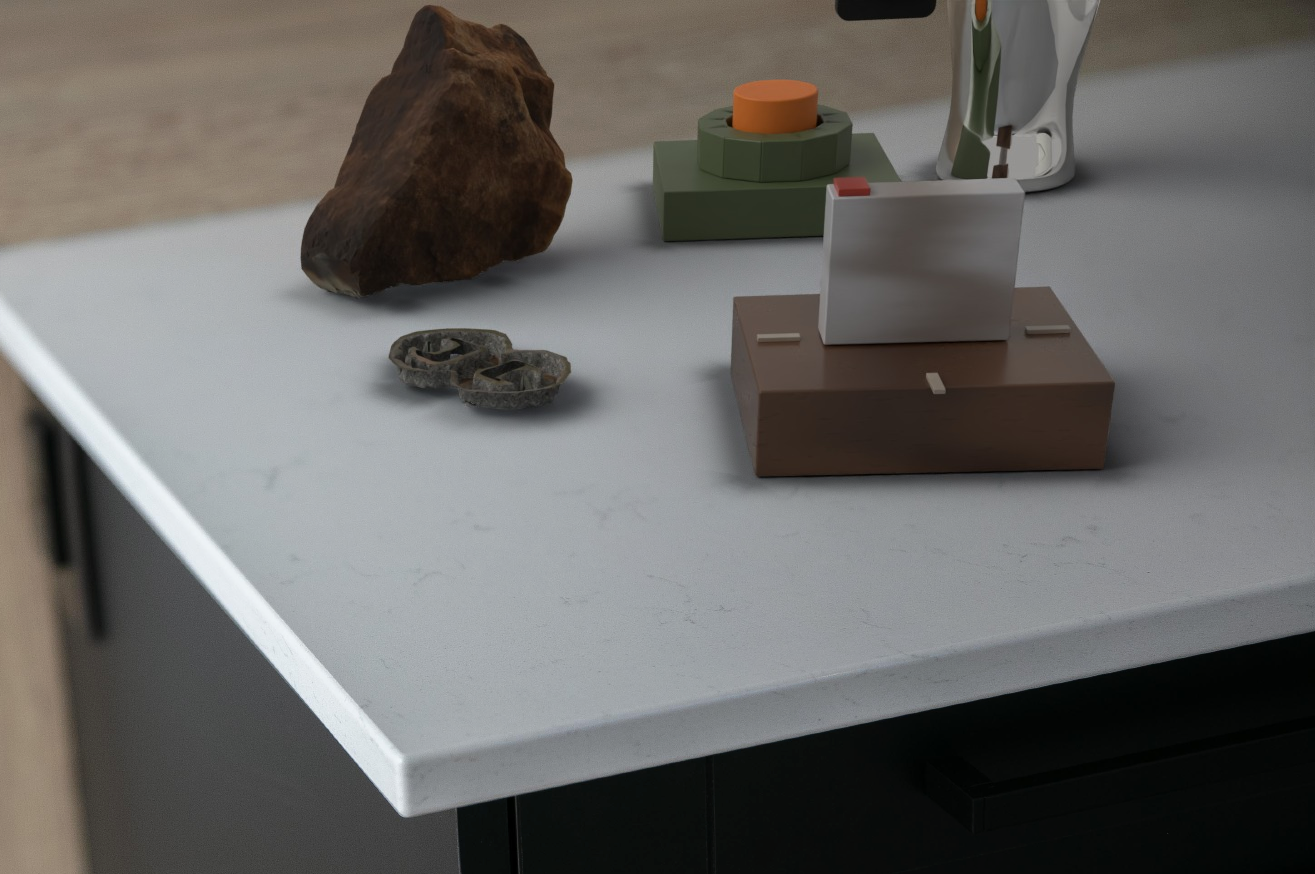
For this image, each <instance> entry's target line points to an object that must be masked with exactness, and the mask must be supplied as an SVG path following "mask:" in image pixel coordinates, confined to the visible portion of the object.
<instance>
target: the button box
mask: <svg viewBox="0 0 1315 874" xmlns="http://www.w3.org/2000/svg"><path fill="white" fill-rule="evenodd" d="M732 126H733V105H730V106H725V107H720V108H717V109H716V108H715V109H713V110H712V111H710V112H708V113H706V114H705V115H703V116H701V117H699V118H698V119H697V134H696V135H697V138H696V139H687V140H686V139H685V140H684V139H683V140H659V141H658V140H656V141H653V144H652V145H653V147H652V149H653V150H652V153H653V154H652V190H653V195H654V196H653V197H654V201H655V206H656V210H657V216H658V222H659V227H660V231H661V237H662V238H661V239H662V241H663V242H682V241H683V242H685V241H712V240H715V241H716V240H740V239H741V240H742V239H768V238H796V237H797V238H798V237H824V222H825V206H826V189H827V185H828V184H834V178H847V177H865V178H866V180H867V182H868V183H882V182H902V180H901V178H900V176H899V175H898V173H897V171H896V169H895V168H894V165H893V164H892V162H891V160H890V159H889V156H888V155H887V153H886V152H885V150H884V148H883V147H882V145H881V142H880V141H879V140H878V137H877V136H876V135H875V133H874V132H859V133H857V132H856V133H853V126H854V123H853V121H852V119H851V118H850V115H849V114H848V113H847V112H846V111H844V110H840V109H837V108H833V107H831V106H827V105H824V104H818V106H817V123H816V128H814V129H810V130H805V131H800V132H795V133H779V134H761V133H751V132H743V131H740V130H737V129H734V128H732Z"/></svg>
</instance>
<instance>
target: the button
mask: <svg viewBox="0 0 1315 874" xmlns="http://www.w3.org/2000/svg"><path fill="white" fill-rule="evenodd" d="M818 102H819V89H818V87H817V86H816V85H814V84H812V83H810V82H806V81H801V80H794V79H761V80H755V81H750V82H746V83H743V84H740V85H738V86H736V87H735V88H734V89H733V101H732V106H733V126H732V128H734V129H737V130H740V131H743V132H751V133H761V134H779V133H795V132H800V131H805V130H810V129H814V128H816V123H817V106H818V105H819V103H818Z"/></svg>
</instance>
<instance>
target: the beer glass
mask: <svg viewBox="0 0 1315 874" xmlns="http://www.w3.org/2000/svg"><path fill="white" fill-rule="evenodd" d="M1100 4H1101V0H946V10H947V21H948V31H949V32H948V33H949V43H950V44H949V45H950V58H951V76H952V78H951V79H952V80H951V99H950V106H949V113H948V117H947V118H948V119H947V123H946V127H945V131H944V134H943V138H942V141H941V145H940V149H939V151H938V152H939V153H938V156H937V161H936V165H935V173H936V175H937V176H938V178H939V179H940V180H968V179H997V178H1015V179H1016V180H1017V182H1018V183H1019V185H1020V186H1021V187H1022V189H1023V190H1024V192H1025V193H1034V192H1043V191H1047V190H1052V189H1055V188H1059V187H1061V186H1063V185H1066V184H1067V183H1069V182H1070V181H1071V180H1073V178H1074V176H1075V173H1076V157H1075V142H1074V106H1075V105H1074V103H1075V96H1076V89H1077V88H1078V79H1079V76H1080V75H1079V74H1080V71H1081V68H1082V65H1083V60H1084V57H1085V53H1086V50H1087V46H1088V43H1089V40H1090V36H1091V33H1092V30H1093V27H1094V24H1095V20H1096V17H1097V14H1098V10H1099V6H1100Z"/></svg>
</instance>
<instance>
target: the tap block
mask: <svg viewBox="0 0 1315 874" xmlns="http://www.w3.org/2000/svg"><path fill="white" fill-rule="evenodd" d="M819 306H820V293H804V294H803V293H801V294H771V295H769V294H767V295H743V296H742V295H740V296H733V298H732V323H731V324H732V325H731V326H732V327H731V328H732V329H731V345H730V347H731V349H730V377H731V382H732V385H733V389H734V393H735V397H736V402H737V406H738V411H739V414H740V420H741V423H742V427H743V431H744V435H745V439H746V445H747V447H748V452H749V457H750V460H751V465H752V468H753V473H754V476H755V477H760V478H761V477H799V476H801V477H802V476H841V475H842V476H843V475H847V476H848V475H888V474H889V475H891V474H933V473H935V474H937V473H974V472H975V473H976V472H978V473H979V472H1015V471H1017V472H1019V471H1022V472H1023V471H1054V470H1055V471H1061V470H1062V471H1063V470H1064V471H1065V470H1066V471H1067V470H1068V471H1069V470H1102V469H1104V468H1105V461H1106V455H1107V448H1108V440H1109V433H1110V427H1111V426H1110V425H1111V420H1112V411H1113V404H1114V399H1115V398H1114V397H1115V390H1116V382H1115V379H1114V378H1113V377H1112V375H1111V373H1110V372H1109V371H1108V369H1107V368H1106V367H1105V365H1104V364H1103V362H1102V361H1101V359H1100V358H1099V356H1098V355H1097V353H1096V352H1095V349H1093V347H1092V346H1091V345H1090V343H1089V341H1087V339H1086V337H1085V336H1084V334H1083V333H1082V332H1081V330H1080V328H1079V327H1078V325H1077V324H1076V322H1075V321H1074V320H1073V318H1072V316H1071V315H1070V314H1069V313H1068V311H1067V310H1066V308H1065V306H1064V305H1063V304H1062V302H1061V301H1060V299H1059V298H1058V296H1057V295H1056V293H1055V291H1054V290H1053V289H1052V287H1051V286H1023V287H1022V286H1021V287H1017V286H1016V287H1015V289H1014V298H1013V307H1012V316H1011V325H1010V334H1009V339H1008V340H993V341H954V342H915V343H876V344H838V345H824V343H823V340H822V337H821V334H820V331H819V328H818V322H819Z"/></svg>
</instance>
